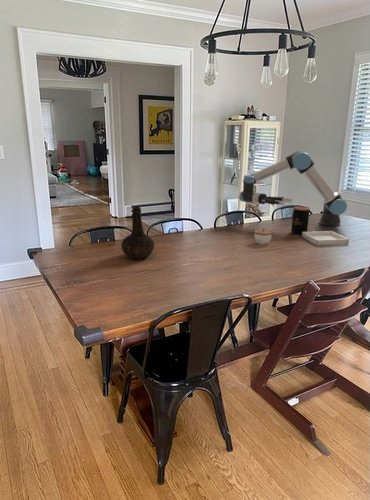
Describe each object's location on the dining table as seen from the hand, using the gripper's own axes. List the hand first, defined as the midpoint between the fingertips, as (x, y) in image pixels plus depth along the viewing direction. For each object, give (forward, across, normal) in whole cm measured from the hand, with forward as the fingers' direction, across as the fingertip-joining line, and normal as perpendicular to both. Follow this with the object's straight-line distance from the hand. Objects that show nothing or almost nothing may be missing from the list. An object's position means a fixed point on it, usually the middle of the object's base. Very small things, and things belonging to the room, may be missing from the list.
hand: (288, 201), depth 258 cm
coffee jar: (+10, 0, -21) cm, 23 cm away
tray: (+30, +8, -21) cm, 37 cm away
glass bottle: (-42, +106, -22) cm, 116 cm away
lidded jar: (+1, +39, -21) cm, 44 cm away
